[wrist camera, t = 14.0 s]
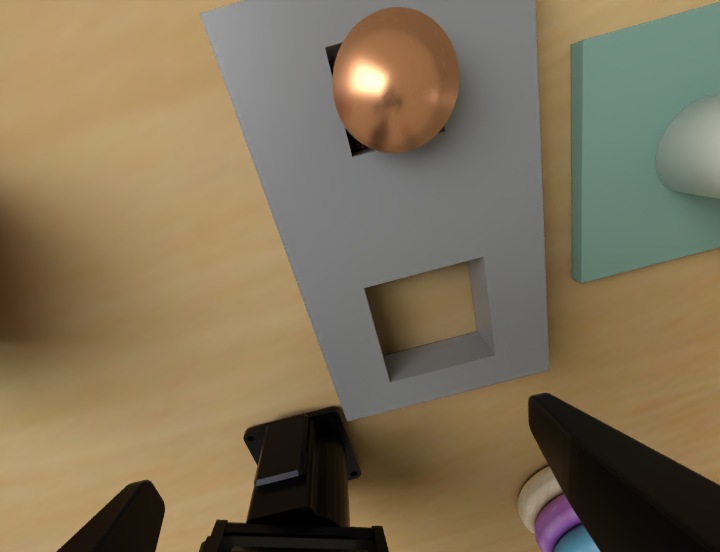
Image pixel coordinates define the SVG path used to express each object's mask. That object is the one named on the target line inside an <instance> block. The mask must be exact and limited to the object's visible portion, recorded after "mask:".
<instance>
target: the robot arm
mask: <svg viewBox="0 0 720 552" xmlns="http://www.w3.org/2000/svg"><path fill="white" fill-rule="evenodd" d="M528 412H529V426H530V429H531V432H532V434H533V436H534V438H535V440H536V442H537V444H538V446H539V447H540V449H541V451H542V453H543V455H544V457H545V459H546V461H547V463H548V465H549V467H550V468H551V470H552V472H553V474H554V476H555V478H556V480H557V482H558V484H559V486H560V488H561V489H562V491H563V493H564V495H565V497H566V499H567V500H568V502H569V504H570V505H571V507H572V509H573V510H574V512H575V513H576V515H577V516H578V518H579V520H580V521H581V523H582V524H583V526H584V527H585V529H586V530H587V532H588V533H589V535H590V537H591V538H592V540H593V541H594V543H595V544H596V546H597V547H598V549H599V550H600V552H720V485H718V484H717V483H715V482H713V481H711V480H709V479H707V478H705V477H704V476H702V475H700V474H698V473H696V472H694V471H692V470H691V469H689V468H687V467H685V466H683V465H681V464H679V463H677V462H676V461H674V460H672V459H670V458H668V457H666V456H664V455H663V454H661V453H659V452H657V451H655V450H653V449H651V448H650V447H648V446H646V445H644V444H642V443H640V442H638V441H637V440H635V439H633V438H631V437H629V436H627V435H625V434H624V433H622V432H620V431H618V430H616V429H614V428H612V427H611V426H609V425H607V424H605V423H603V422H601V421H599V420H598V419H596V418H594V417H592V416H590V415H588V414H586V413H584V412H583V411H581V410H579V409H577V408H575V407H573V406H571V405H570V404H568V403H566V402H564V401H562V400H560V399H558V398H557V397H555V396H553V395H551V394H548V393H541V394H537V395H532V396H530V397H529V400H528ZM330 415H334V416H330ZM251 435H252V436H251ZM243 439H244V441H245V443H246V445H247V447H248V449H249V451H250V452H251V454H252V456H253V458H254V460H255V462H256V464H257V465H258V467H257V471H256V476H255V480H254V489H253V493H252V498H251V502H250V507H249V511H248V516H247V520H246V523H235V522H228V520H217V521H216V523H215V526H214V528H213V531H212V534H211V536H208V537H207V539H206V541H204V542H203V543H202V544H201V547H200V550H199V552H389V551H388V547H387V543H386V539H385V535H384V531H383V528H382V526H372V527H371V528H367V527H350V517H349V496H348V480H351V479H355V478H358V477H359V476H360V475H361V469H360V465H359V462H358V459H357V457H356V454H355V451H354V448H353V446H352V443H351V440H350V438H349V435H348V432H347V429H346V427H345V424H344V421H343V419H342V416H341V413H340V411H339V409H337V408H335V407H330V408H326V409H322V410H318V411H314V412H310V413H306V414H303V415H299V416H295V417H291V418H287V419H283V420H279V421H275V422H271V423H267V424H264V425H260V426H256V427H252V428H249V429H247V430H246V431H245V434H244V437H243ZM164 513H165V505H164V501H163V499H162V498H161V496H160V495H159V493H158V491H157V490H156V488H155V487H154V485H153V483H152V482H151V481H149V480H143V481H138V482H134V483H131V484H129V485H127V486H126V487H125V488H124V489H123V490H122V491H121V492H120V493H119V494H117V495H116V496H115V497H114V498H113V499H112V500H111V501H110V502H109V503H108V504H107V505H106V506H105V507H104V508H103V509H101V510H100V511H99V512H98V513H97V514H96V515H95V516H94V517H93V518H92V519H91V520H90V521H89V522H88V523H87V524H86V525H84V526H83V527H82V528H81V529H80V530H79V531H78V532H77V533H76V534H75V535H74V536H73V537H72V538H71V539H70V540H68V541H67V542H66V543H65V544H64V545H63V546H62V547H61V548H60V549H59V550H58V551H57V552H155V550H156V546H157V542H158V538H159V534H160V530H161V526H162V522H163V518H164Z"/></svg>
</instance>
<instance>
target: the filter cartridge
mask: <svg viewBox="0 0 720 552" xmlns="http://www.w3.org/2000/svg"><path fill="white" fill-rule="evenodd" d="M655 165H656V171H657V175H658V177H659V179H660V181H661V182H662V184H663V185H664V186H665V187H667V188H668V189H670V190H673V191H676V192H682V193H688V194H694V195H700V196H706V197H712V198H718V199H720V95H713V96H708V97H705V98H702V99H699V100H697V101H695V102H694V103H692V104H690V105H689V106H687V107H686V108H685V109H683V110H682V111H681V112H680V113H679V114H678V115H677V116H676V117H675V118H674V119H673V120H672V122H671V123H670V124H669V126H668V127H667V129H666V130H665V132H664V134H663V136H662V138H661V140H660V142H659V145H658V149H657V152H656V162H655Z"/></svg>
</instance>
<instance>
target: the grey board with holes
mask: <svg viewBox="0 0 720 552" xmlns="http://www.w3.org/2000/svg"><path fill="white" fill-rule="evenodd" d="M391 7H404V8H410V9H414V10H417V11H419V12H422V13H424V14H426V15H427V16H429V17H430V18H432V19H433V20H434V21H435V22H436V23H437V24H438V25H440V27H441V28H442V29H443V30H444V32H445V33H446V34H447V36H448V38H449V39H450V41H451V43H452V45H453V48H454V50H455V53H456V57H457V61H458V67H459V89H458V95H457V99H456V103H455V106H454V108H453V111H452V113H451V115H450V117H449V119H448V121H447V122H446V124H445V125H444V126H443V128H442V129H441V130H440V131H439V133H438V134H437V135H436V136H435V137H433V138H432V139H431V140H430V141H428V142H427V143H426V144H424V145H422V146H420V147H418V148H416V149H414V150H411V151H407V152H402V153H385V152H381V151H377V150H374V149H371V148H369V149H366V150H362V151H359V152H355V153H351V150H350V146H349V142H348V138H347V134H346V130H345V126H344V125H343V123H342V122H341V120H340V118H339V115H338V113H337V110H336V107H335V103H334V98H333V88H332V82H333V78H332V74H331V70H330V66H329V62H328V60H331V59H334V58H336V57H337V54H338V51H339V49H340V47H341V45H342V43H343V41H344V39H345V38H346V36H347V35H348V33H349V32H350V31H351V29H352V28H353V27H354V26H355V25H356V24H357V23H358V22H360V21H361V20H362V19H364V18H365V17H366V16H368V15H370V14H372V13H374V12H376V11H379V10H381V9H386V8H391ZM200 16H201V18H202V21H203V24H204V27H205V29H206V32H207V35H208V38H209V41H210V43H211V46H212V49H213V52H214V54H215V57H216V60H217V63H218V65H219V68H220V71H221V74H222V76H223V79H224V82H225V85H226V88H227V90H228V93H229V96H230V99H231V101H232V104H233V107H234V110H235V112H236V115H237V118H238V121H239V124H240V126H241V129H242V132H243V135H244V137H245V140H246V143H247V146H248V148H249V151H250V154H251V157H252V159H253V162H254V165H255V168H256V171H257V173H258V176H259V179H260V182H261V184H262V187H263V190H264V193H265V195H266V198H267V201H268V204H269V206H270V209H271V212H272V215H273V218H274V220H275V223H276V226H277V229H278V231H279V234H280V237H281V240H282V242H283V245H284V248H285V251H286V254H287V256H288V259H289V262H290V265H291V267H292V270H293V273H294V276H295V278H296V281H297V284H298V287H299V289H300V292H301V295H302V298H303V301H304V303H305V306H306V309H307V312H308V314H309V317H310V320H311V323H312V325H313V328H314V331H315V334H316V336H317V339H318V342H319V345H320V348H321V350H322V353H323V356H324V359H325V361H326V364H327V367H328V370H329V372H330V375H331V378H332V381H333V384H334V386H335V389H336V392H337V395H338V397H339V400H340V403H341V406H342V408H343V411H344V414H345V417H346V419H347V422H348V421H352V420H356V419H360V418H364V417H368V416H372V415H376V414H379V413H383V412H387V411H391V410H395V409H399V408H403V407H407V406H411V405H415V404H419V403H423V402H427V401H430V400H434V399H438V398H442V397H446V396H450V395H454V394H458V393H462V392H466V391H470V390H474V389H478V388H481V387H485V386H489V385H493V384H497V383H501V382H505V381H509V380H513V379H517V378H521V377H525V376H529V375H532V374H536V373H540V372H544V371H548V370H549V344H548V318H547V293H546V267H545V241H544V215H543V189H542V163H541V138H540V112H539V86H538V60H537V34H536V8H535V0H244V1H241V2H237V3H234V4H230V5H227V6H224V7H220V8H217V9H213V10H210V11H206V12H203V13H200ZM465 261H468V267H469V274H470V282H471V289H472V296H473V304H474V311H475V318H476V326H477V332H473V333H469V334H465V335H461V336H458V337H454V338H450V339H446V340H442V341H438V342H434V343H431V344H427V345H423V346H419V347H415V348H411V349H407V350H404V351H400V352H396V353H392V354H388V355H383V352H382V348H381V344H380V341H379V337H378V334H377V330H376V326H375V323H374V319H373V315H372V312H371V308H370V304H369V301H368V297H367V294H366V290H365V288H367V287H371V286H374V285H378V284H382V283H386V282H390V281H393V280H397V279H401V278H405V277H408V276H412V275H416V274H420V273H424V272H427V271H431V270H435V269H439V268H442V267H446V266H450V265H454V264H458V263H461V262H465Z"/></svg>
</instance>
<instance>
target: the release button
mask: <svg viewBox="0 0 720 552" xmlns="http://www.w3.org/2000/svg"><path fill="white" fill-rule="evenodd" d="M332 88H333V98H334V103H335V107H336V110H337V113H338V115H339V118H340V120H341V122H342V123H343V125H344V126H345V128H346V129H347V130H348V132H349V133H350V134H351V135H352V136H353V137H354V138H355V139H356V140H358V141H359V142H360V143H362V144H363V145H365V146H367V147H369V148H371V149H374V150H377V151H381V152H385V153H402V152H407V151H411V150H414V149H416V148H418V147H420V146H422V145H424V144H426V143H427V142H428V141H430V140H431V139H432V138H433V137H435V136H436V135H437V134H438V133H439V131H440V130H441V129H442V128H443V126H444V125H445V124H446V122H447V121H448V119H449V117H450V115H451V113H452V111H453V108H454V106H455V103H456V99H457V95H458V89H459V67H458V61H457V57H456V53H455V50H454V48H453V45H452V43H451V41H450V39H449V38H448V36H447V34H446V33H445V32H444V30H443V29H442V28H441V27H440V25H438V24H437V23H436V22H435V21H434V20H433V19H432V18H430V17H429V16H427V15H426V14H424V13H422V12H419V11H417V10H414V9H410V8H404V7H391V8H386V9H381V10H379V11H376V12H374V13H372V14H370V15H368V16H366V17H365V18H364V19H362V20H361V21H360V22H358V23H357V24H356V25H355V26H354V27H353V28H352V29H351V31H350V32H349V33H348V35H347V36H346V38H345V39H344V41H343V43H342V45H341V47H340V49H339V51H338V54H337V57H336V60H335V64H334V70H333V82H332Z"/></svg>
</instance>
